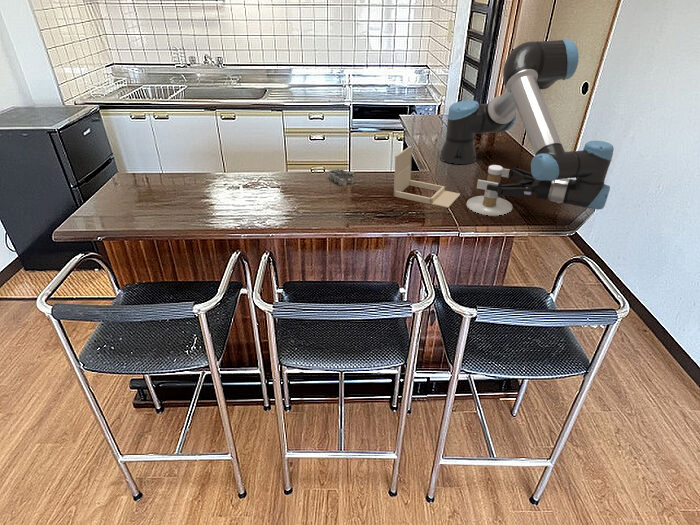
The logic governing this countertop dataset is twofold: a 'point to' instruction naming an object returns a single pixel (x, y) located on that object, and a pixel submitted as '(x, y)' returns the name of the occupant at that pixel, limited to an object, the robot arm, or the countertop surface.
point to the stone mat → (499, 209)
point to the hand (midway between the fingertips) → (483, 176)
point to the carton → (418, 183)
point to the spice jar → (493, 176)
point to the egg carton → (341, 176)
